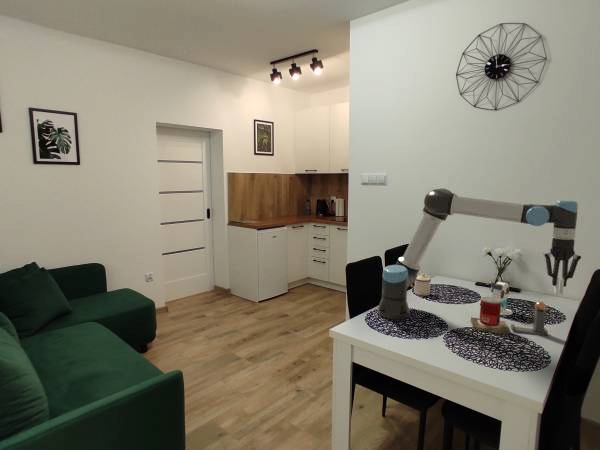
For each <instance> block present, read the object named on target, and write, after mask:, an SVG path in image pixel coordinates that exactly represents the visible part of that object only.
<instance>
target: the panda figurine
mask: <svg viewBox="0 0 600 450" xmlns="http://www.w3.org/2000/svg"><path fill="white" fill-rule="evenodd" d="M492 291H493V292H492V297H493V298H497V299H499V300H501V311H500V316H511V315H513V311H512V310H511V309H508V308H507V304H508V302H509V298H508V297H509V293H510V281H508V280H503V279H502V280H500V281H497V282H496V283H494V284H493V290H492Z"/></svg>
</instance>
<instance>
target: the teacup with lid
mask: <svg viewBox="0 0 600 450" xmlns="http://www.w3.org/2000/svg"><path fill="white" fill-rule="evenodd" d="M431 279H432V278H430V276H427V275H425V273H421V274H420V275H417V278H416V280H415V282H414V285H413V284H411V285H410V287H412V288H413V289H414V294H415V293H416V294H415V295H418V296H430V294H431V282H432V281H431Z"/></svg>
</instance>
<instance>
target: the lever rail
mask: <svg viewBox="0 0 600 450" xmlns="http://www.w3.org/2000/svg"><path fill="white" fill-rule="evenodd" d="M510 329H511V331H512V332H514V333H520V334H521V333H522V334H529V335H536V336H544V337H548V336H549V335H548V332H549V331H548V330H547V329H546V327H544V333H542V332H535V330H534V329H533V328H529V327H522V326H516V325H515V324H514V323H511V325H510Z"/></svg>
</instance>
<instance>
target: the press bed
mask: <svg viewBox="0 0 600 450" xmlns="http://www.w3.org/2000/svg"><path fill="white" fill-rule="evenodd" d="M470 322H471V325H472V329H473V331H478V332H479V331H480V332H488V333H496V334H500V335H501V334H504V335H510V333H511V332H510V329H509V327H508V325H507V324H506V321H505V320H500V323H499V325H498V326H488V325H484V324H482V323H481V322H480V317H474V316H473V317H471V316H470Z"/></svg>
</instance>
